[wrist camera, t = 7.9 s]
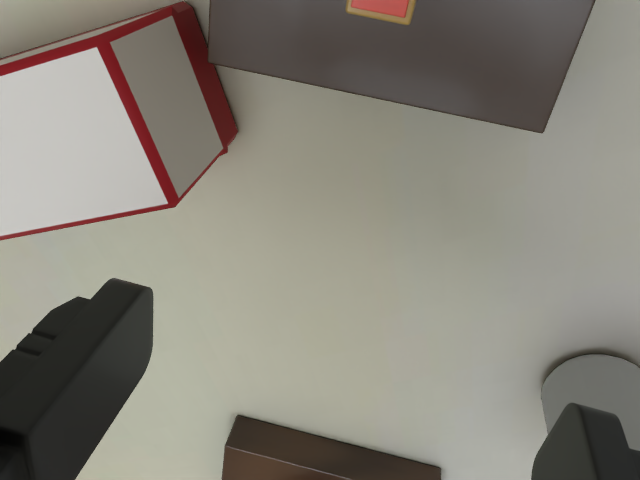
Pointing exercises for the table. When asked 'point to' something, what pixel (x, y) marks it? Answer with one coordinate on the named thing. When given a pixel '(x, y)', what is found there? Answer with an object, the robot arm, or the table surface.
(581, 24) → the lock plate
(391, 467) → the block
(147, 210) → the toy truck
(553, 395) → the beverage can
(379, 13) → the thumbturn
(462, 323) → the table surface
